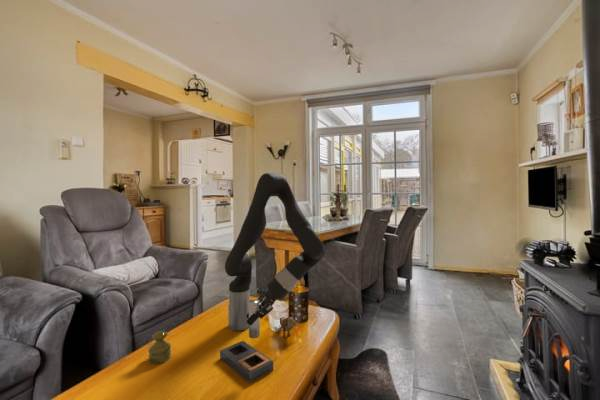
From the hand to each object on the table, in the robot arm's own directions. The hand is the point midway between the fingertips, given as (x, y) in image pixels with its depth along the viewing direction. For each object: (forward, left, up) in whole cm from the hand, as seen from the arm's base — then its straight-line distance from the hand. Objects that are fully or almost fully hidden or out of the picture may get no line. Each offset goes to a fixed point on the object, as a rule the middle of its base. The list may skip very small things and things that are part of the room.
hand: (248, 320), depth 98 cm
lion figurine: (-11, +26, -18) cm, 34 cm away
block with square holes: (-4, +2, -18) cm, 18 cm away
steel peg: (+1, +2, -6) cm, 6 cm away
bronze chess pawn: (-29, -19, -18) cm, 39 cm away
